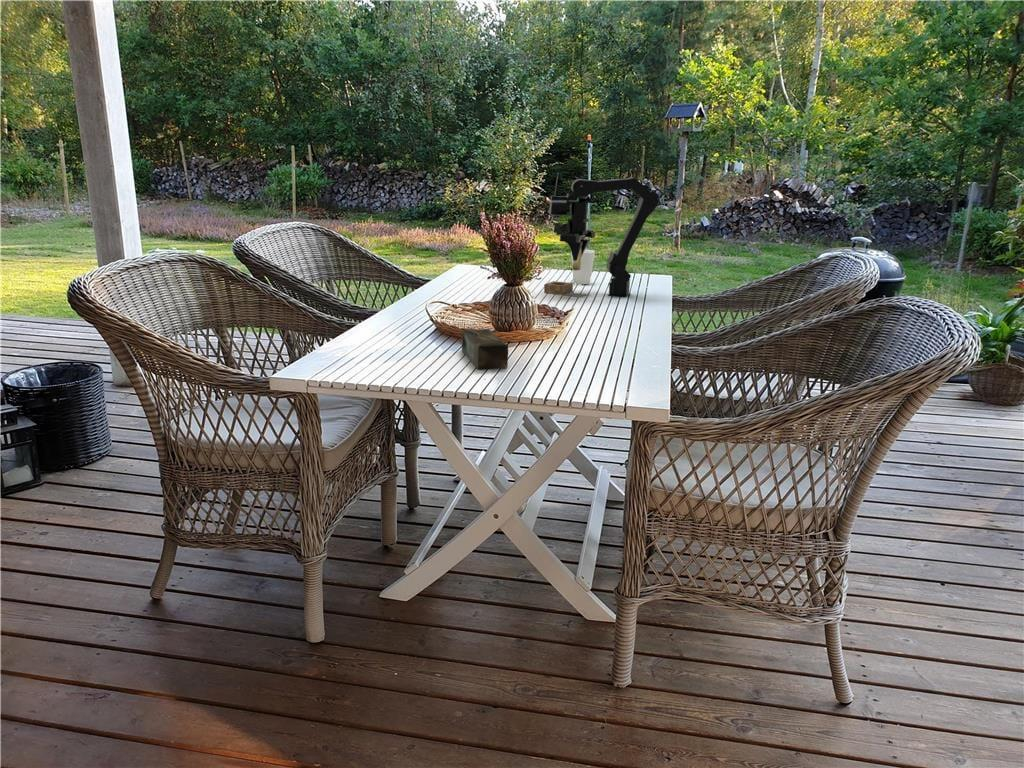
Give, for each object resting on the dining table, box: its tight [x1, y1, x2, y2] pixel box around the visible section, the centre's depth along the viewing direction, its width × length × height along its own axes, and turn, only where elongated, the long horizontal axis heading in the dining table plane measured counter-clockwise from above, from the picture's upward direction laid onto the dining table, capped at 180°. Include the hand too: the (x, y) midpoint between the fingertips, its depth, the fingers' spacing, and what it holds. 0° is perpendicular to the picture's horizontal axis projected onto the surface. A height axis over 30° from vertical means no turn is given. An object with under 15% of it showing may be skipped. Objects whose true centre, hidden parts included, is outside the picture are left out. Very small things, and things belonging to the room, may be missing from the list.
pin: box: [571, 246, 582, 271], centre depth 271 cm, size 3×3×10 cm
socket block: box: [543, 280, 574, 296], centre depth 279 cm, size 8×8×4 cm
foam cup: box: [570, 249, 596, 285], centre depth 297 cm, size 10×9×13 cm
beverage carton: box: [461, 327, 509, 370], centre depth 191 cm, size 8×19×7 cm, turn 16°
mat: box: [563, 292, 590, 299], centre depth 275 cm, size 7×7×1 cm
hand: (576, 259), depth 271 cm, fingers closed on pin, 3 cm apart
